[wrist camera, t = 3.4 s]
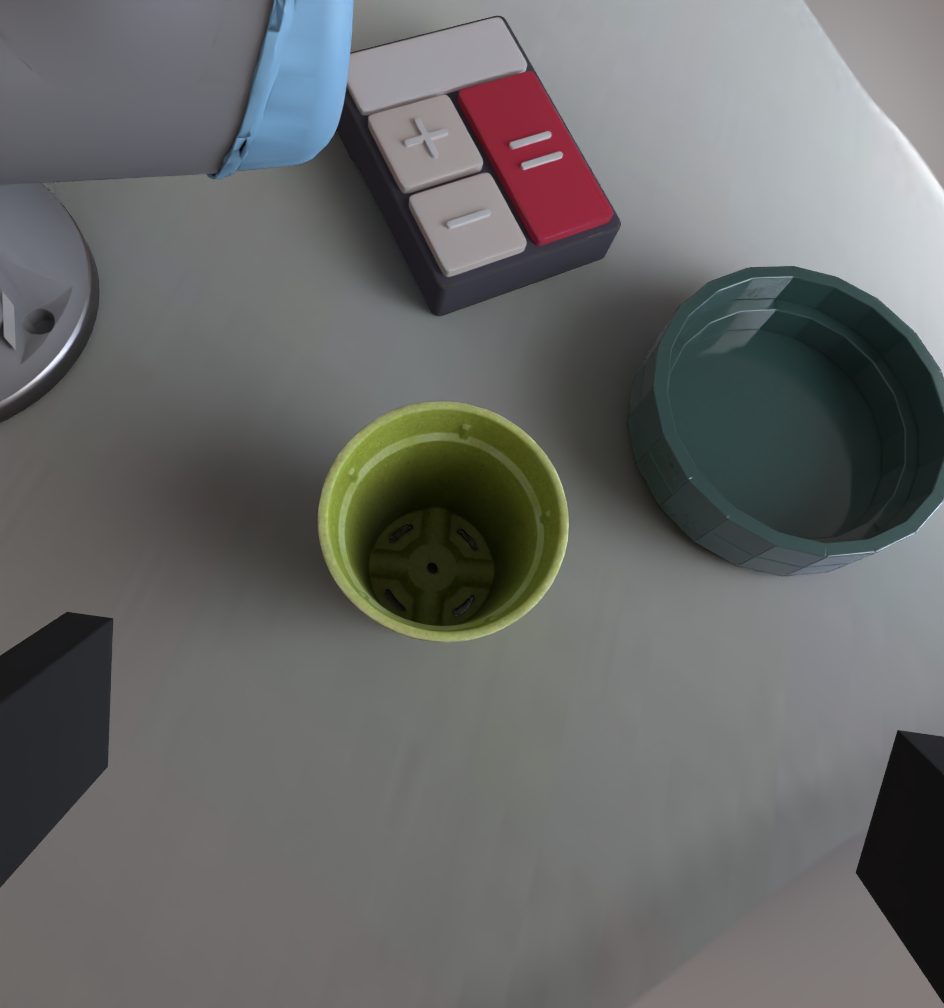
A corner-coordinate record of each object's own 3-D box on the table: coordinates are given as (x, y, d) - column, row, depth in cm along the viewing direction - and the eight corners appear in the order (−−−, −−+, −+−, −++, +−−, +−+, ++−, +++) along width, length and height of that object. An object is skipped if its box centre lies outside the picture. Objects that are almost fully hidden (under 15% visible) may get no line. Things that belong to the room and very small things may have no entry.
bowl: (575, 365, 41) (598, 320, 37) (802, 281, 45) (847, 231, 40) (716, 626, 37) (761, 609, 33) (951, 511, 41) (1018, 482, 37)
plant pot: (289, 562, 36) (263, 504, 27) (435, 441, 38) (451, 356, 30) (424, 712, 34) (439, 697, 26) (565, 575, 37) (619, 523, 29)
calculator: (441, 281, 37) (322, 45, 40) (433, 325, 41) (325, 108, 44) (629, 217, 40) (505, 0, 43) (604, 263, 44) (492, 63, 47)
